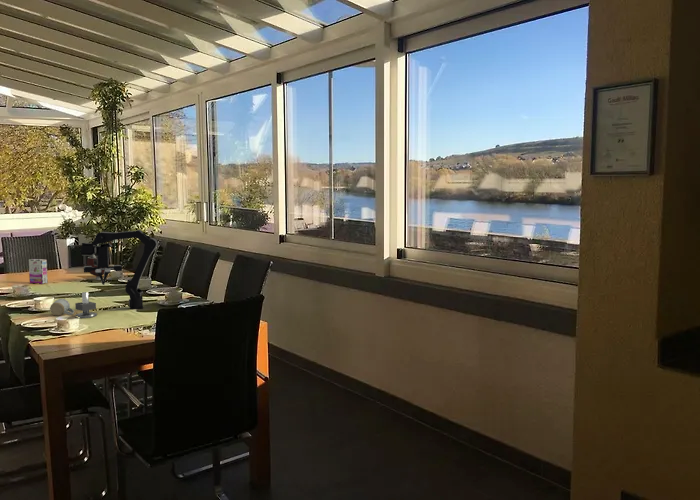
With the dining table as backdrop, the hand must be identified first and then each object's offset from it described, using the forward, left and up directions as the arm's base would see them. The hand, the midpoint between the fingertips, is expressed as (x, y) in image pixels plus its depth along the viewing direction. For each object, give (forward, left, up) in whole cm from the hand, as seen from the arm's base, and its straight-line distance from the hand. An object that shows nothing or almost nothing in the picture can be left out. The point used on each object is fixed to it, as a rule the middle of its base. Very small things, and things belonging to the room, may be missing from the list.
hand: (103, 284), depth 319 cm
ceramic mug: (+20, +8, -13) cm, 25 cm away
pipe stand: (+9, +17, -13) cm, 23 cm away
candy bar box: (+38, -111, -13) cm, 118 cm away
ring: (+9, +17, -9) cm, 21 cm away
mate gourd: (+1, -106, -13) cm, 107 cm away
